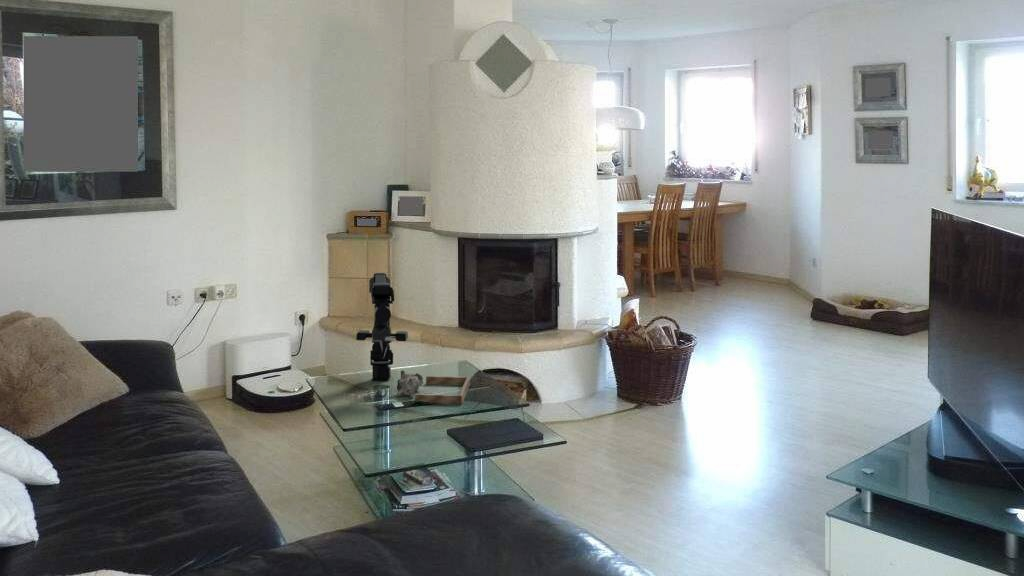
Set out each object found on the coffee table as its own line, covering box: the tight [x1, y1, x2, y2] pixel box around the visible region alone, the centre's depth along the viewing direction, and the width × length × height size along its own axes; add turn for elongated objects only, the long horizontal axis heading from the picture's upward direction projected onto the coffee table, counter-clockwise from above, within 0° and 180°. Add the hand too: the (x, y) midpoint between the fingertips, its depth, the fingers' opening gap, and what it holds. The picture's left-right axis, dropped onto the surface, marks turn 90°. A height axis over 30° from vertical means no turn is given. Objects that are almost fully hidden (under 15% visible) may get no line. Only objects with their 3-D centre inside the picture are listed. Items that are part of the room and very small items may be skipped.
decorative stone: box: [396, 370, 424, 399], centre depth 349 cm, size 16×9×10 cm, turn 173°
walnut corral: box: [414, 375, 471, 405], centre depth 350 cm, size 17×28×3 cm, turn 177°
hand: (382, 358), depth 350 cm, fingers closed
